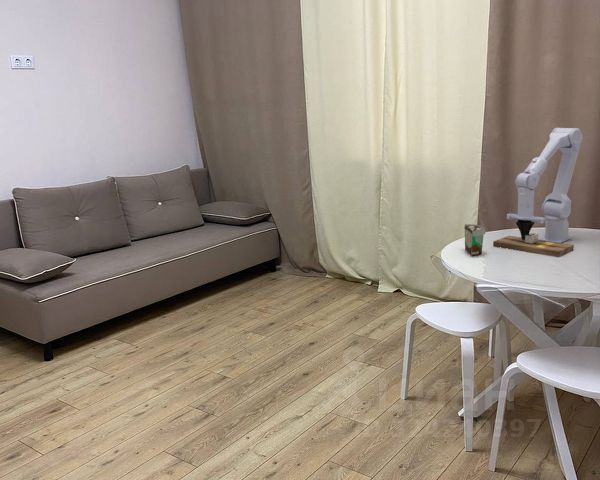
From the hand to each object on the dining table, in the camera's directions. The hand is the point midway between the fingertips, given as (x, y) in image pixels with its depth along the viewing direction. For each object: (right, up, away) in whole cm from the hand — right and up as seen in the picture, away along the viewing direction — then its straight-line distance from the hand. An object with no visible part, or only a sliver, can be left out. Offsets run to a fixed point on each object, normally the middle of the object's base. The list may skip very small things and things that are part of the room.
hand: (524, 239), depth 229 cm
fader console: (+2, -3, -2) cm, 4 cm away
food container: (-20, -5, -4) cm, 21 cm away
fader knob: (+2, -1, -2) cm, 3 cm away
